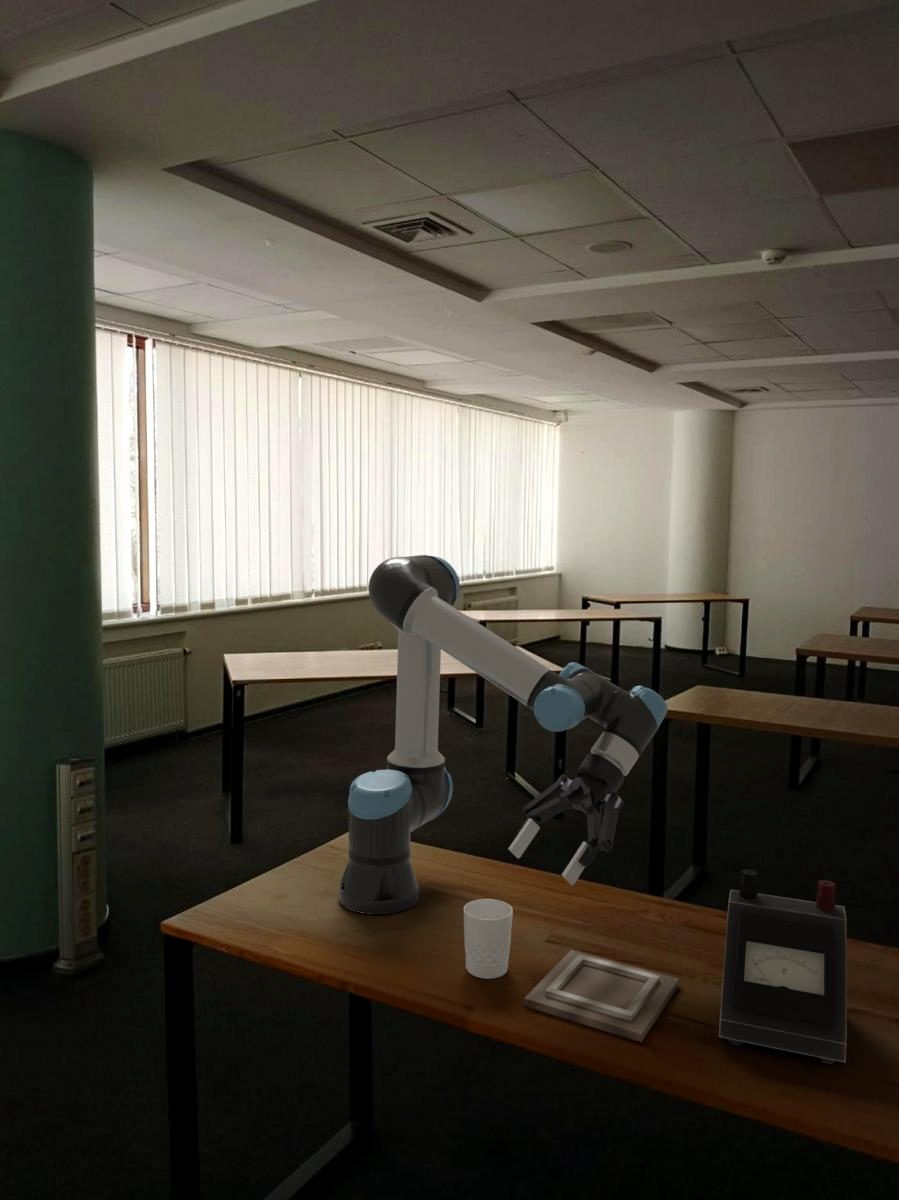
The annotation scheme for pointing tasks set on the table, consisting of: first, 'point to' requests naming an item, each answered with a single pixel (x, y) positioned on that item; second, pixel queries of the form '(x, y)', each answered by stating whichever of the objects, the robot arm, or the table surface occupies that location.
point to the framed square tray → (603, 994)
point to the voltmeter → (785, 972)
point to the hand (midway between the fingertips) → (539, 866)
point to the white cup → (487, 937)
